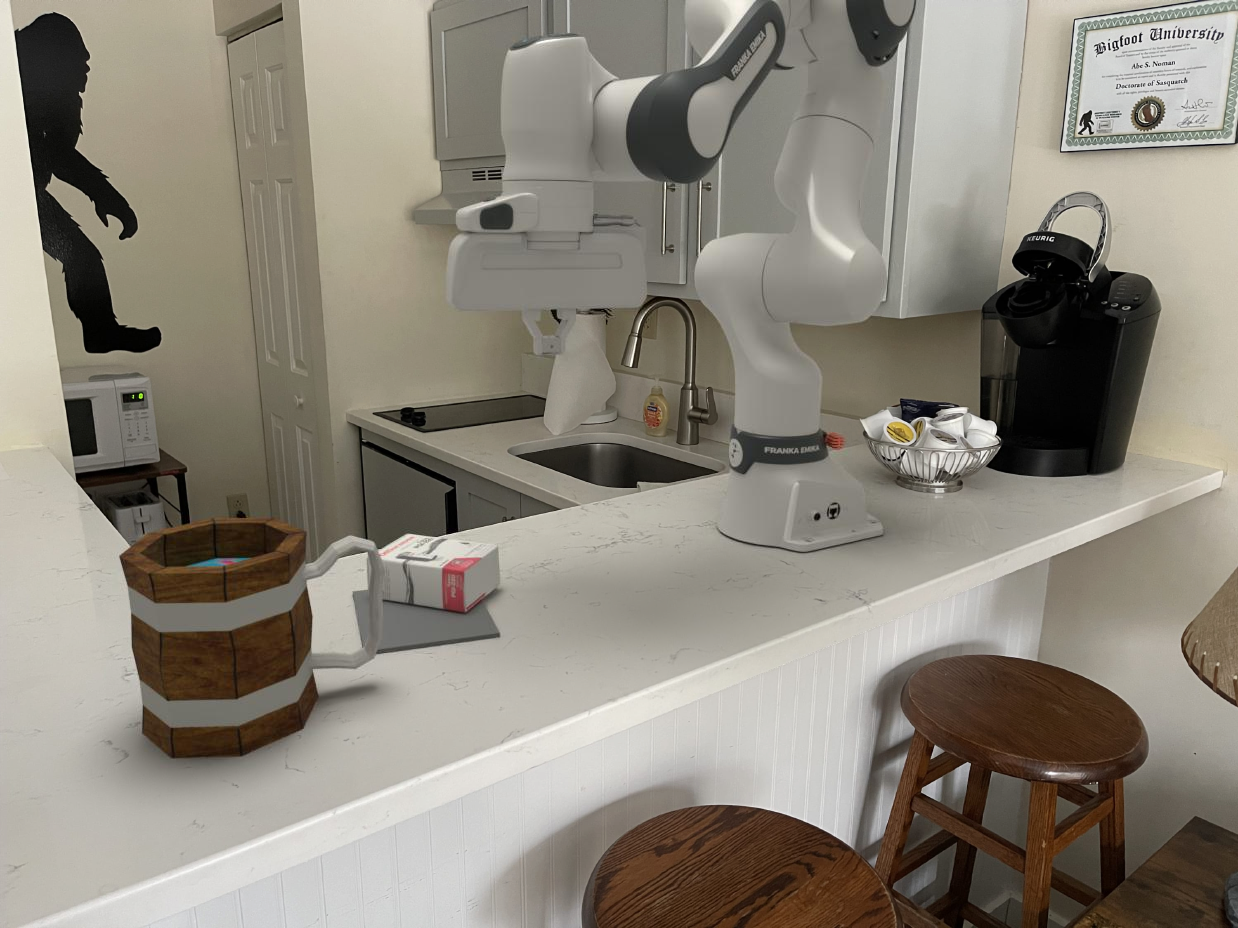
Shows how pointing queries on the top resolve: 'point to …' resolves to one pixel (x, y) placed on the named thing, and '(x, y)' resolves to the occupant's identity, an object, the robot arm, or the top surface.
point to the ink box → (438, 572)
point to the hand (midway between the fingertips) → (549, 354)
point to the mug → (232, 632)
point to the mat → (423, 624)
